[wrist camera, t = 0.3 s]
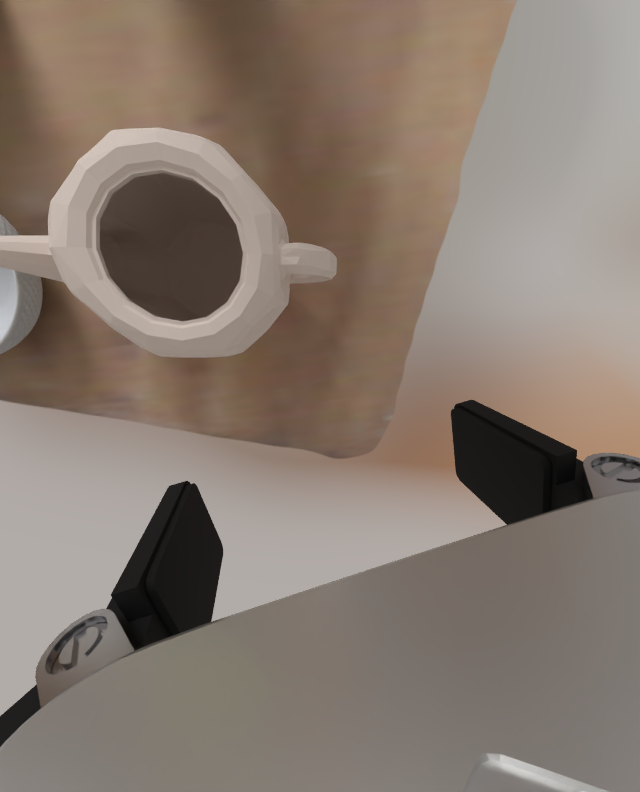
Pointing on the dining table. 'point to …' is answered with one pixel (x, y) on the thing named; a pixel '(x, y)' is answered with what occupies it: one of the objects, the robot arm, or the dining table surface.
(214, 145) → the cream teapot
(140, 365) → the dining table surface
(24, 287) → the cereal bowl
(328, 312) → the dining table surface
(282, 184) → the dining table surface
